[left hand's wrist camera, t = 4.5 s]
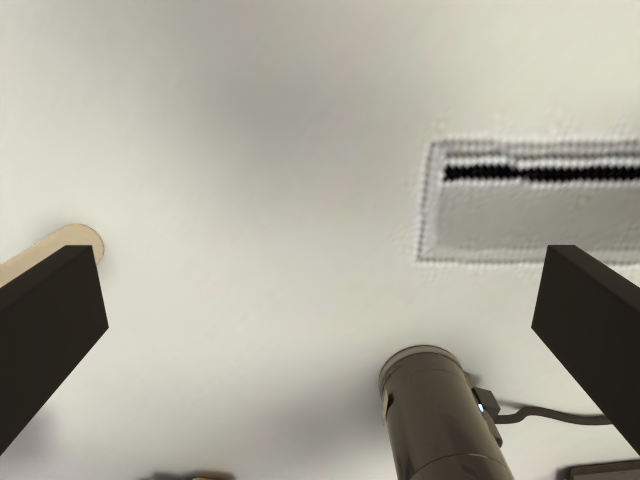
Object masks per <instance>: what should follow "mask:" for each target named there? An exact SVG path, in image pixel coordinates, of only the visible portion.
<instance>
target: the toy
mask: <svg viewBox="0 0 640 480" xmlns="http://www.w3.org/2000/svg"><path fill="white" fill-rule="evenodd" d="M563 480H566V479H563ZM570 480H640V461H632V462H622V463H613V464H603V465H594V466H584V467H575V468H572V469H571V472H570Z"/></svg>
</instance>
